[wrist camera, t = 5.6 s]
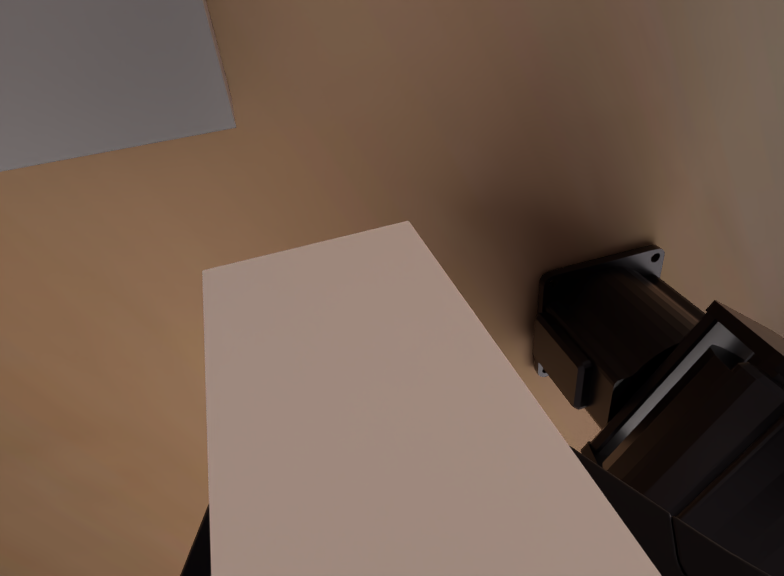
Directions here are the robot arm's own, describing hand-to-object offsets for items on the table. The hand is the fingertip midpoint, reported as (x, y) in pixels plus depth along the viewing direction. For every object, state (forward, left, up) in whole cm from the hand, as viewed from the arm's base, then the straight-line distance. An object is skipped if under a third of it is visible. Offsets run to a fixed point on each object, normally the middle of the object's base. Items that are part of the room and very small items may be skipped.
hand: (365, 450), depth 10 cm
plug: (0, 0, -3) cm, 3 cm away
